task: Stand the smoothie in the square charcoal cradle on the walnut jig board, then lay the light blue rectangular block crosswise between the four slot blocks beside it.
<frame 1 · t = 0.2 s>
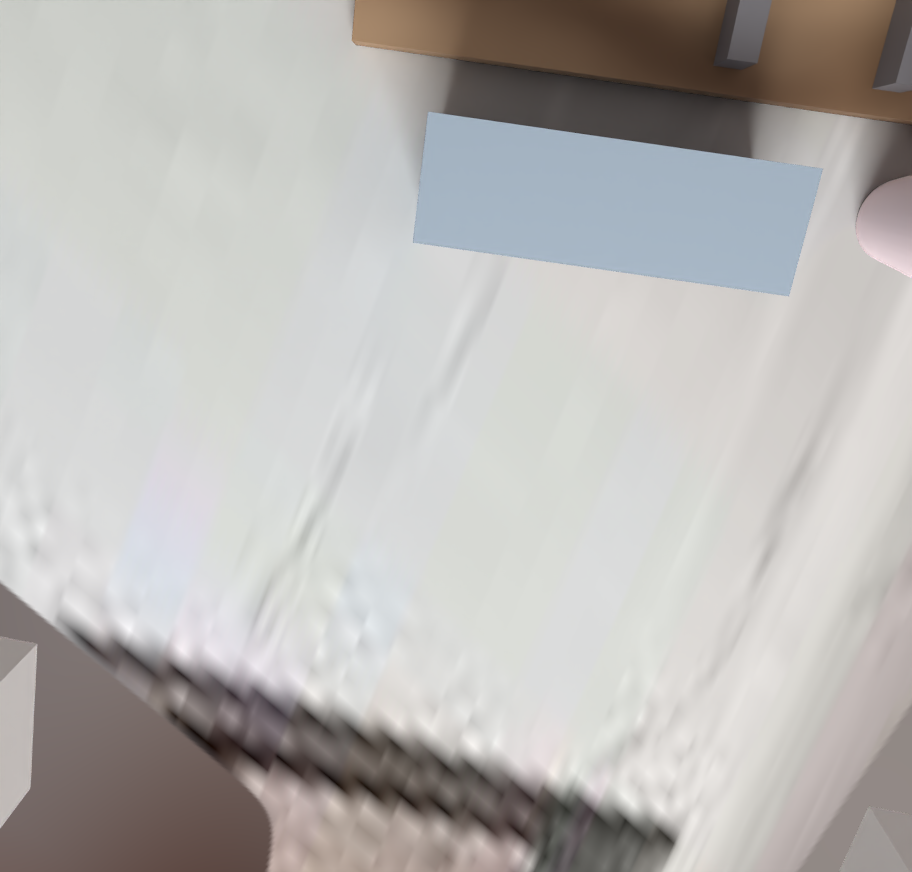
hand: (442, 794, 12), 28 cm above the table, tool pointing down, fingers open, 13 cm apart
light blue rectangular block: (586, 200, 36), on the table
smoothie: (895, 220, 36), on the table
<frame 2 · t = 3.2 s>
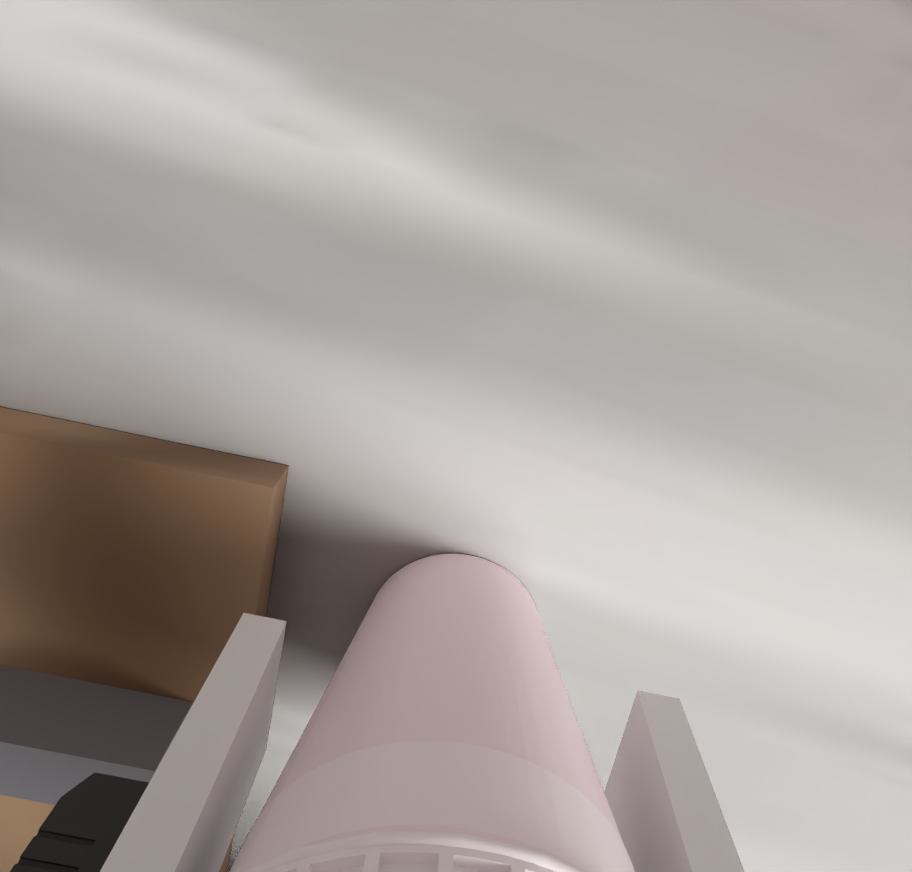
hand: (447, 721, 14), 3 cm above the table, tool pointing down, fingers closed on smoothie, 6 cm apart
smoothie: (454, 627, 17), on the table, touching gripper
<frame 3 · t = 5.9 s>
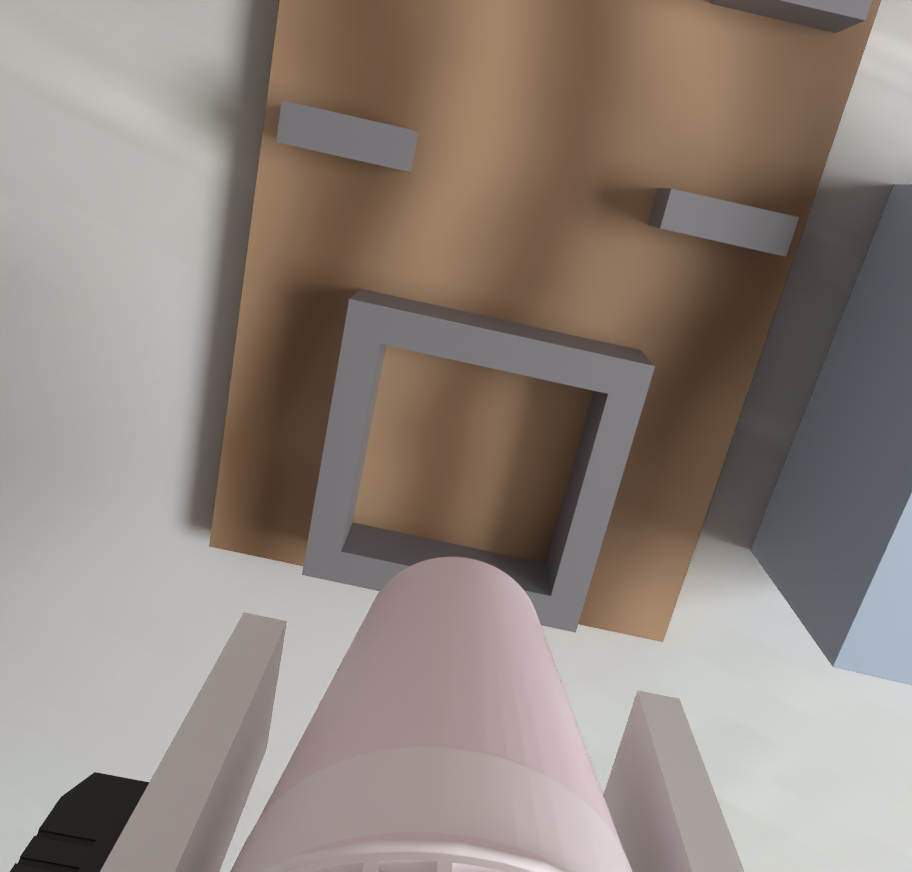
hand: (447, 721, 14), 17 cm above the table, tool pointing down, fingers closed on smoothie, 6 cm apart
light blue rectangular block: (874, 394, 29), on the table
smoothie: (453, 630, 17), point 14 cm above the table, touching gripper
cradle: (471, 441, 30), resting on jig board
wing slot: (556, 75, 26), resting on jig board
jig board: (521, 228, 28), on the table
when the fingers open (5 cm above the table, at t = 8.4 s): smoothie drops 1 cm, resting on jig board.
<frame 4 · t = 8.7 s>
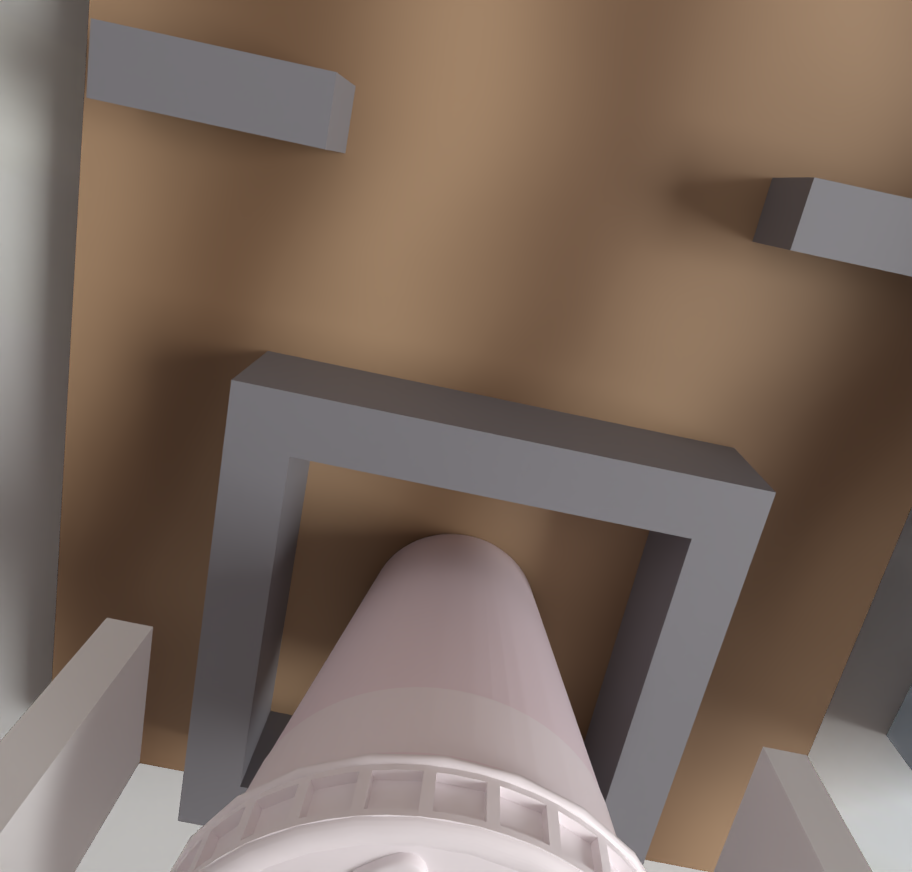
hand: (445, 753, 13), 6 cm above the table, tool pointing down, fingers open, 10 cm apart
smoothie: (453, 604, 18), point 1 cm above the table, touching jig board
cradle: (457, 580, 19), resting on jig board
jig board: (533, 247, 17), on the table
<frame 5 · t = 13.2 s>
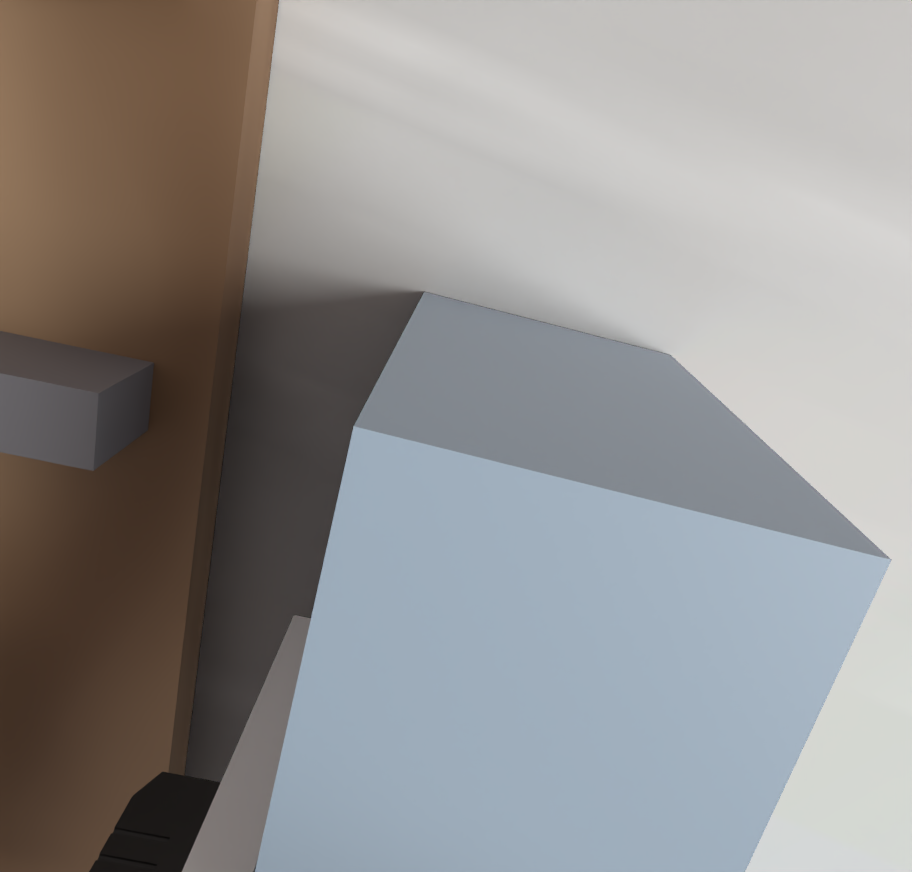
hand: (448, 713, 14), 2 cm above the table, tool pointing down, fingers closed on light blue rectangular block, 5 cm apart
light blue rectangular block: (451, 656, 16), on the table, touching gripper
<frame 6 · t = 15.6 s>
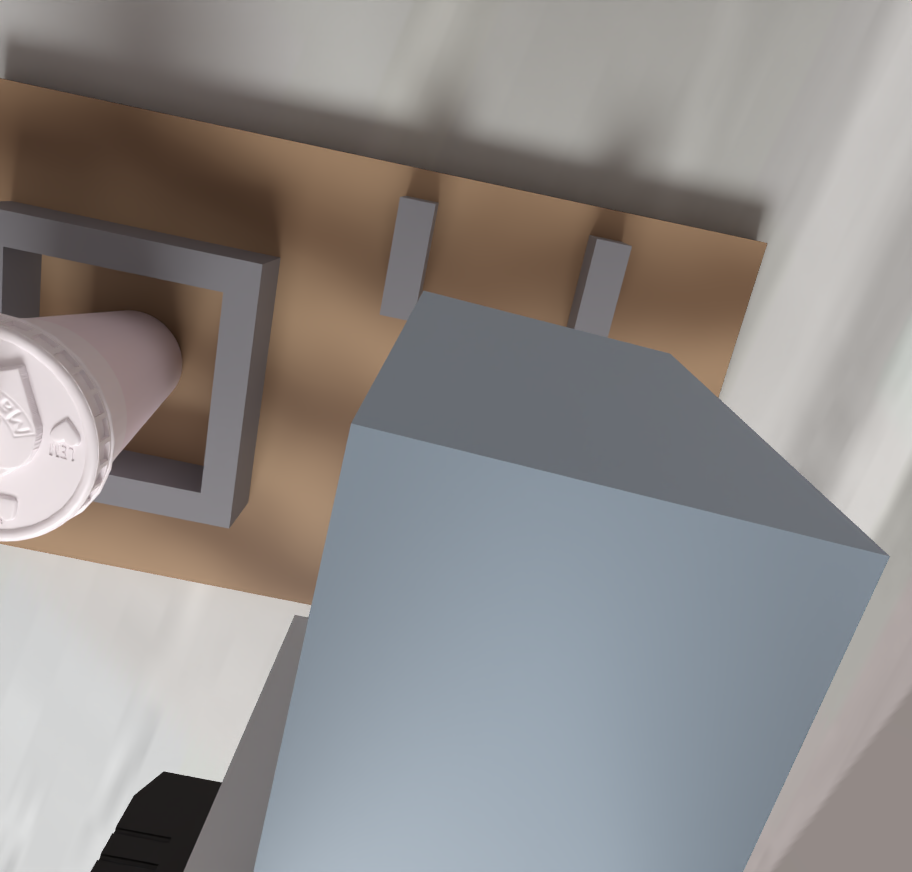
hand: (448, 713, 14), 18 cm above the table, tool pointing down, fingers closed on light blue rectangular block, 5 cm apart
light blue rectangular block: (452, 655, 16), point 17 cm above the table, touching gripper
smoothie: (136, 357, 31), point 1 cm above the table, touching jig board
cradle: (148, 353, 32), resting on jig board
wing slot: (469, 419, 32), resting on jig board
jig board: (346, 394, 32), on the table
when the fingers open (4 cm above the table, at t = 18.4 s): light blue rectangular block drops 1 cm, resting on jig board.
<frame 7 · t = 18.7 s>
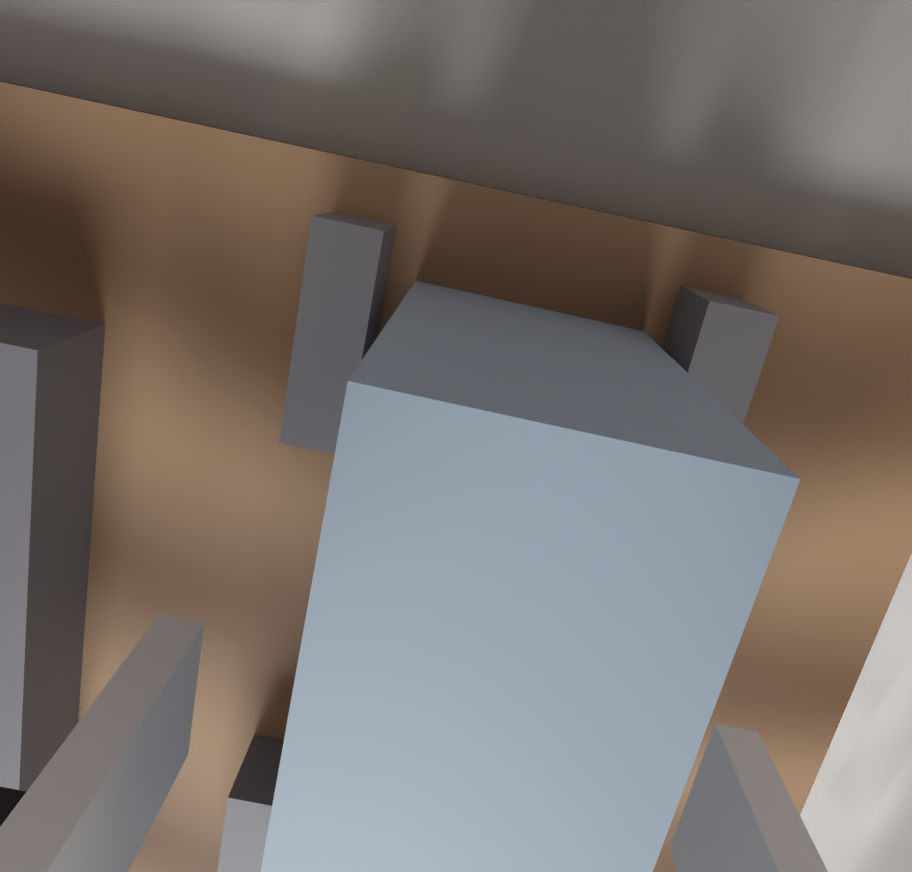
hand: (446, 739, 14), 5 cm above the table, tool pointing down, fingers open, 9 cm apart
light blue rectangular block: (453, 618, 17), point 1 cm above the table, touching jig board
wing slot: (456, 592, 19), resting on jig board
jig board: (245, 550, 18), on the table
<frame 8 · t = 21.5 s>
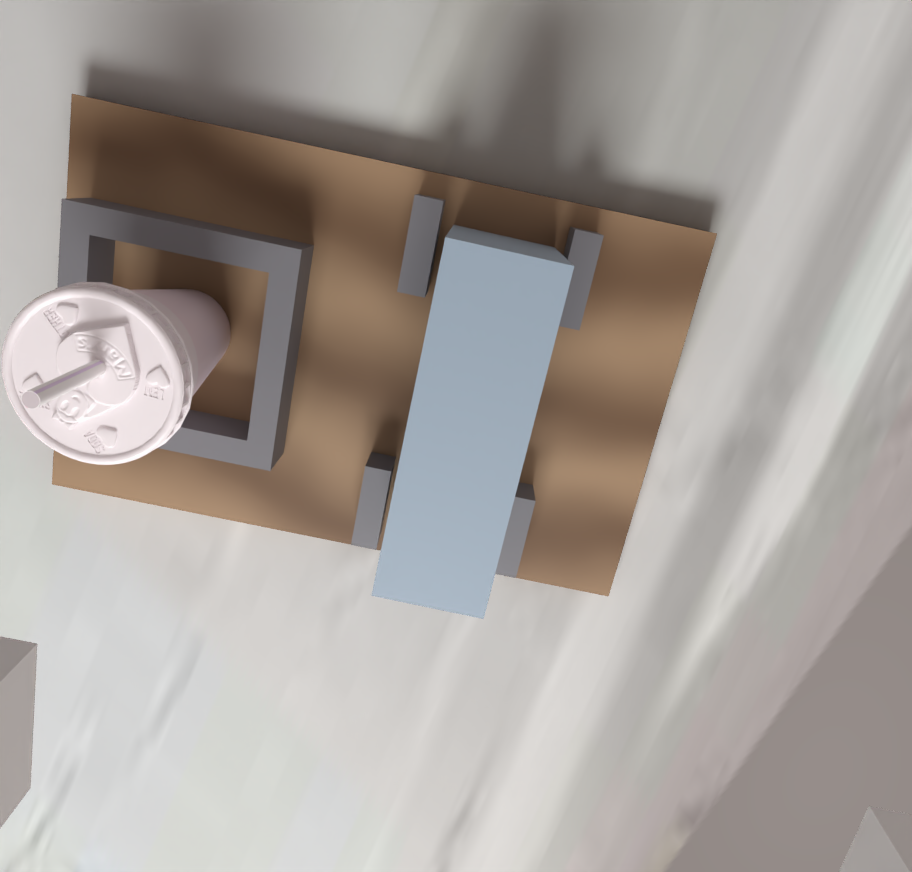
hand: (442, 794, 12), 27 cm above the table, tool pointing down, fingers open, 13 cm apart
light blue rectangular block: (469, 388, 37), point 1 cm above the table, touching jig board
smoothie: (191, 329, 37), point 1 cm above the table, touching jig board
cradle: (200, 326, 37), resting on jig board
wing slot: (470, 382, 38), resting on jig board
jig board: (367, 361, 38), on the table
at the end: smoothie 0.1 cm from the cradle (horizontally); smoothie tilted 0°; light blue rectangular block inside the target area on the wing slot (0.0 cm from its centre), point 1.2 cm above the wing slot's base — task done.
